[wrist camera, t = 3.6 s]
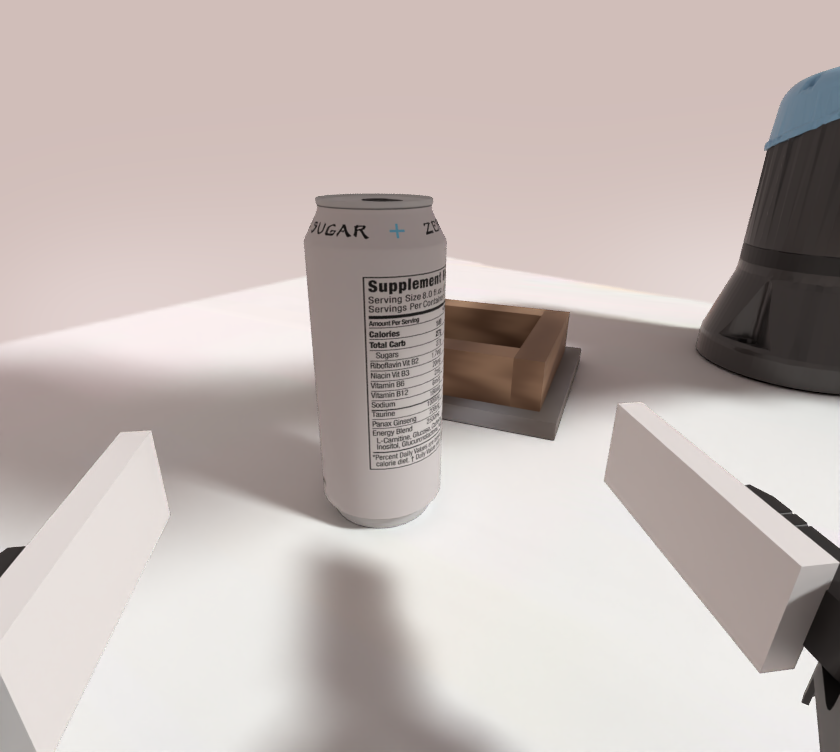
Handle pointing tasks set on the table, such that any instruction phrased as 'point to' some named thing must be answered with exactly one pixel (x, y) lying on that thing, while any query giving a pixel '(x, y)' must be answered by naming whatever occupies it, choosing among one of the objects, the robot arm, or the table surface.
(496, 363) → the brown wooden open box
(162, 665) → the table surface
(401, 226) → the energy drink can
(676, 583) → the table surface
